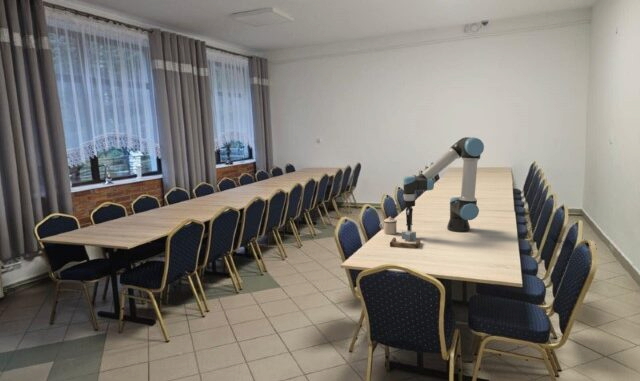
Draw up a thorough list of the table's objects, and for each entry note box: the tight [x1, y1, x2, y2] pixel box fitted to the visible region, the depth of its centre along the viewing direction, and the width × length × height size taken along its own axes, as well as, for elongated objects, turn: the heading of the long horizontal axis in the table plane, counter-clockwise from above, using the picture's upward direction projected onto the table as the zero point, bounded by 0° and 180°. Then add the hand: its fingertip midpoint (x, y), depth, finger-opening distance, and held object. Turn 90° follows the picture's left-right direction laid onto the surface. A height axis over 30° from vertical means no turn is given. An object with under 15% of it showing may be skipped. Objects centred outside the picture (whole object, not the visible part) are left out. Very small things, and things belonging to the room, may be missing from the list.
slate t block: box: [401, 230, 417, 242], centre depth 263 cm, size 9×8×4 cm
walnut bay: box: [389, 237, 421, 249], centre depth 252 cm, size 17×12×2 cm
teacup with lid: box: [379, 216, 398, 235], centre depth 281 cm, size 12×9×12 cm
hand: (409, 234), depth 269 cm, fingers closed
